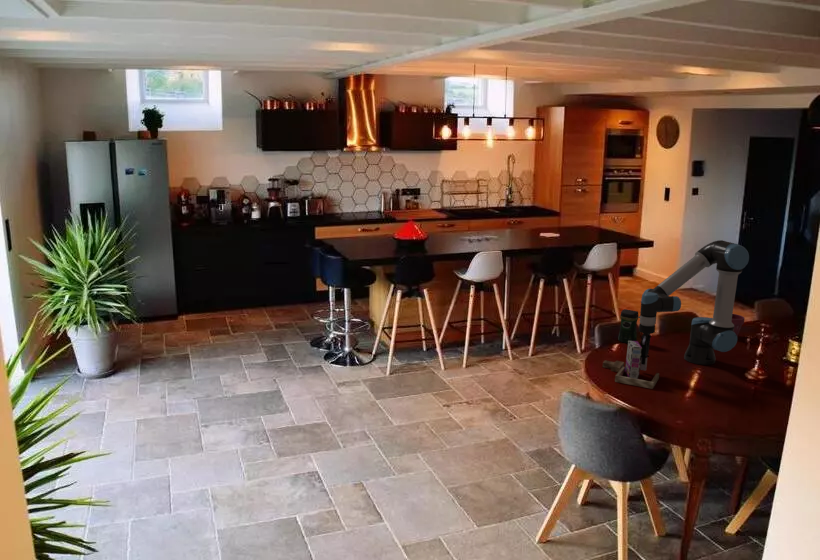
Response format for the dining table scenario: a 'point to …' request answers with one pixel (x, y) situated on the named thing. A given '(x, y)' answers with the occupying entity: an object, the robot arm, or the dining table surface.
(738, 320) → the plant pot
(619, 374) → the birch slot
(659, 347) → the dining table surface
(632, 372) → the candy bar box
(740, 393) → the dining table surface
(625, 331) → the coffee jar
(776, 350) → the dining table surface
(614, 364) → the walnut T block
